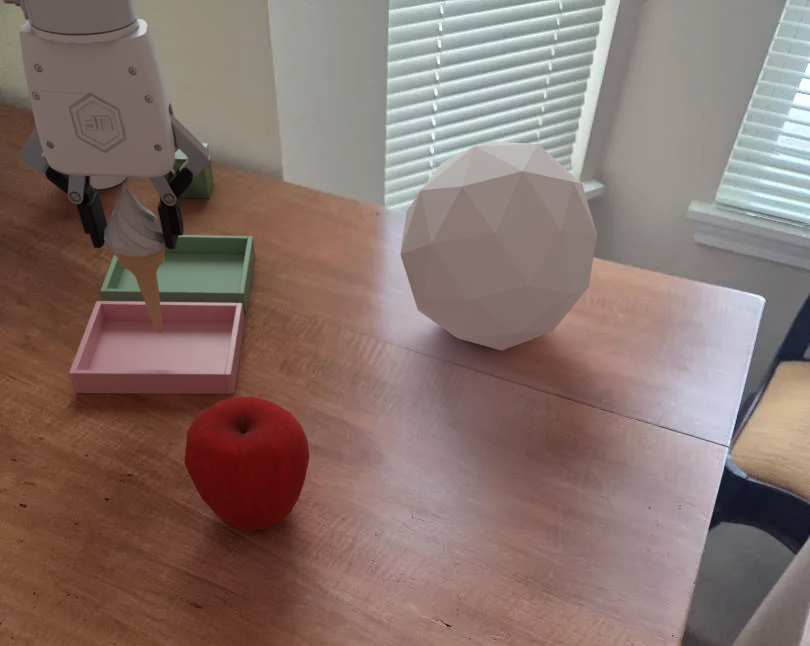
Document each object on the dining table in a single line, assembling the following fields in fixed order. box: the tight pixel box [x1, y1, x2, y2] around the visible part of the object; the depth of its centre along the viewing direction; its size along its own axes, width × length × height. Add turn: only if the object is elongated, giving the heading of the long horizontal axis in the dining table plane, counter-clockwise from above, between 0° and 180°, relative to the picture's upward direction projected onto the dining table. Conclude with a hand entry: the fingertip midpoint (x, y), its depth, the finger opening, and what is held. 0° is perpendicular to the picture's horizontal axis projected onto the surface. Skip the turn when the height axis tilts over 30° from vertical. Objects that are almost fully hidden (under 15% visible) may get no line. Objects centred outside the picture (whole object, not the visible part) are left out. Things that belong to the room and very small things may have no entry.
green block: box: [172, 142, 214, 199], centre depth 99 cm, size 5×5×5 cm
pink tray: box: [68, 300, 246, 395], centre depth 76 cm, size 15×12×2 cm
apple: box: [183, 395, 310, 531], centre depth 60 cm, size 10×10×11 cm
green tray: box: [100, 234, 256, 313], centre depth 85 cm, size 15×12×2 cm
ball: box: [399, 140, 598, 351], centre depth 76 cm, size 19×20×20 cm
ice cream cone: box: [104, 181, 165, 334], centre depth 69 cm, size 6×6×15 cm
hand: (137, 239), depth 68 cm, fingers closed on ice cream cone, 5 cm apart
